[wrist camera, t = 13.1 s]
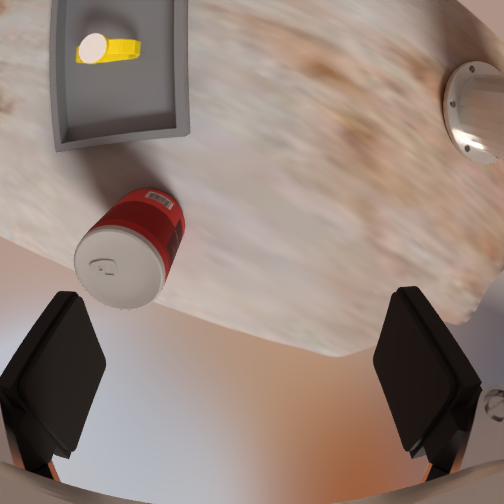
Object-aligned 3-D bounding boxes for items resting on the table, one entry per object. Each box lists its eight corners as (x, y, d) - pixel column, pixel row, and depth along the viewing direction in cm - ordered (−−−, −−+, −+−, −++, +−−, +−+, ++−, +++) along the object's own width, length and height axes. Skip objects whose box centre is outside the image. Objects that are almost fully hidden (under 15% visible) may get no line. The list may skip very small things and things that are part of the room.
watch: (94, 70, 25) (61, 69, 20) (95, 46, 24) (63, 40, 19) (147, 64, 25) (120, 59, 20) (149, 37, 24) (123, 27, 18)
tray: (188, -32, 21) (184, -41, 19) (190, 133, 29) (185, 136, 27) (64, -2, 21) (53, -7, 18) (67, 147, 29) (56, 152, 27)
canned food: (108, 194, 32) (59, 238, 22) (177, 178, 31) (146, 218, 22) (129, 256, 35) (94, 314, 25) (194, 245, 35) (175, 306, 25)
